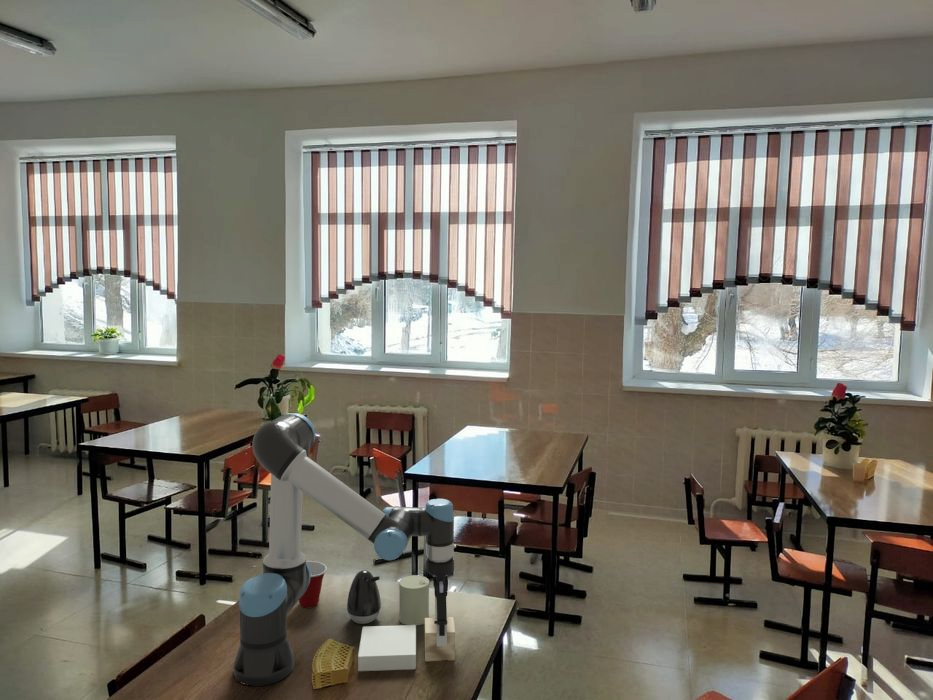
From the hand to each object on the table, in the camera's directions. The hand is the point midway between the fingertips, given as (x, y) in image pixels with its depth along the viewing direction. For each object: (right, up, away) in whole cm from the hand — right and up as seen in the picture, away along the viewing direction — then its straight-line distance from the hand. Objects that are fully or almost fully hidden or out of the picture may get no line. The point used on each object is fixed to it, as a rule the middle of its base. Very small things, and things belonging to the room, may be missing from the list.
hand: (440, 632), depth 174 cm
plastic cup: (-43, -3, +27) cm, 51 cm away
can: (-9, -4, +19) cm, 21 cm away
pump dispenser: (-24, -4, +18) cm, 30 cm away
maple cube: (0, -6, +1) cm, 6 cm away
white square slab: (-14, -6, -1) cm, 15 cm away
